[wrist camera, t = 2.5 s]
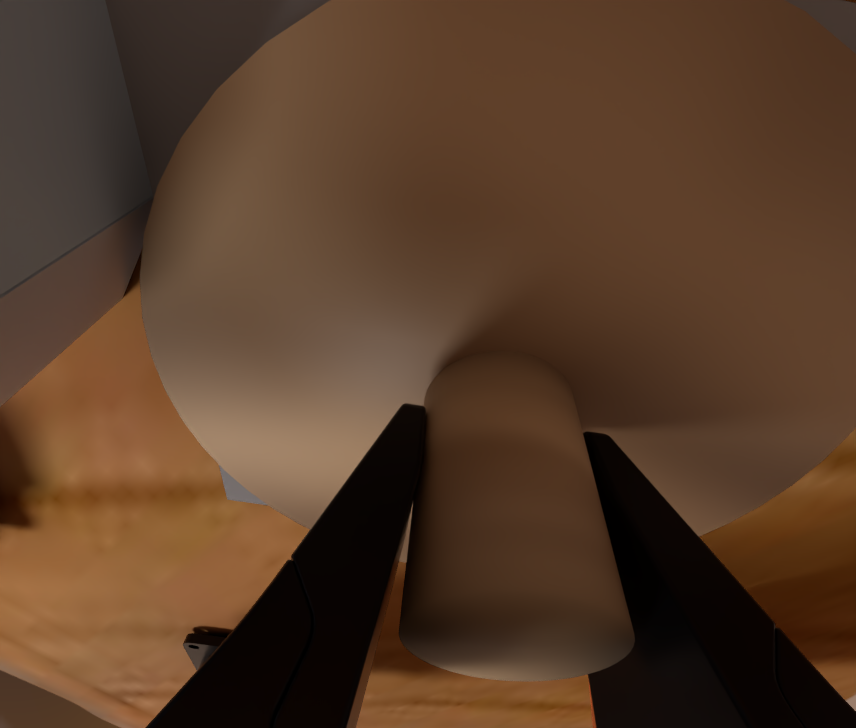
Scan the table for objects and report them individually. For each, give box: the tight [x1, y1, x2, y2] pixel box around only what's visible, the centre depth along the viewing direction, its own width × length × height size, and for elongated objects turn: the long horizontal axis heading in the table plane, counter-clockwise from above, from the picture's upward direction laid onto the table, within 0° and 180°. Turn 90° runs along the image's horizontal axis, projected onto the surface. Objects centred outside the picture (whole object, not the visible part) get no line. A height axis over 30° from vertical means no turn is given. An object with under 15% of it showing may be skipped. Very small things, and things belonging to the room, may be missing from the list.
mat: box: [105, 0, 856, 505], centre depth 10 cm, size 13×13×1 cm
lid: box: [140, 0, 856, 681], centre depth 8 cm, size 13×13×5 cm
